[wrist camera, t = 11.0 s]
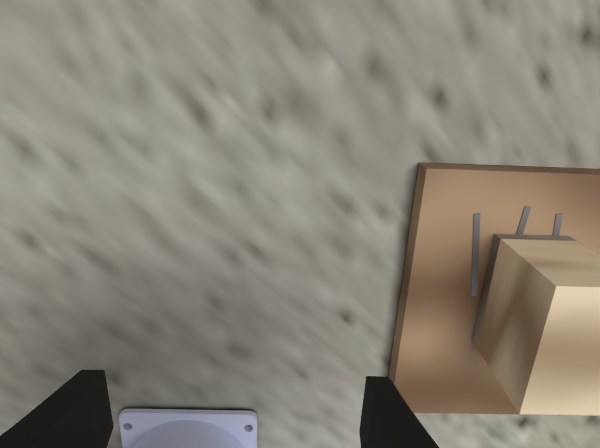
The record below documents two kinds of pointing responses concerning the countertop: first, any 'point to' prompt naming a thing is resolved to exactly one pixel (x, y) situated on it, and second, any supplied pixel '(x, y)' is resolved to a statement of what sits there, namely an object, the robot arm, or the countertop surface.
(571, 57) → the countertop surface
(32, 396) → the countertop surface
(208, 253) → the countertop surface
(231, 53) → the countertop surface
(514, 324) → the block
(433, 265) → the board
